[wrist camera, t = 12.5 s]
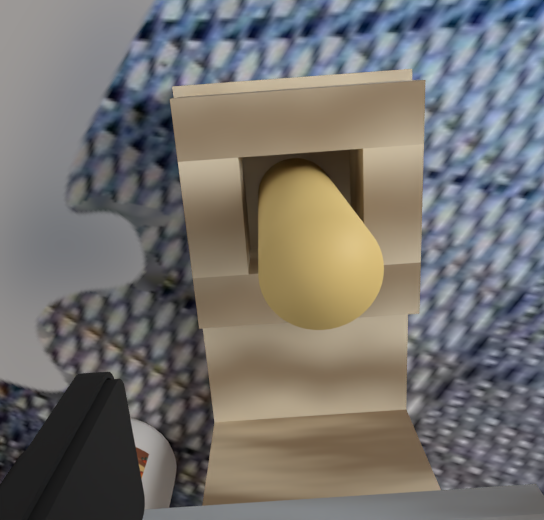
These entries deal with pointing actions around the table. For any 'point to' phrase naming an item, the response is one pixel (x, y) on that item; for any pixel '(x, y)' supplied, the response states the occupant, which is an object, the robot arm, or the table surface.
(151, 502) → the milk bottle
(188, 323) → the table surface
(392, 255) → the awning station
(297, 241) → the peg
